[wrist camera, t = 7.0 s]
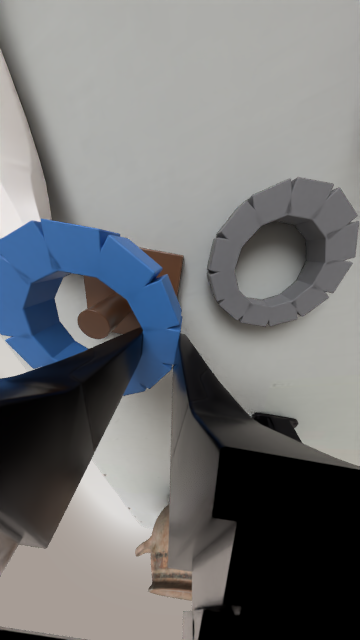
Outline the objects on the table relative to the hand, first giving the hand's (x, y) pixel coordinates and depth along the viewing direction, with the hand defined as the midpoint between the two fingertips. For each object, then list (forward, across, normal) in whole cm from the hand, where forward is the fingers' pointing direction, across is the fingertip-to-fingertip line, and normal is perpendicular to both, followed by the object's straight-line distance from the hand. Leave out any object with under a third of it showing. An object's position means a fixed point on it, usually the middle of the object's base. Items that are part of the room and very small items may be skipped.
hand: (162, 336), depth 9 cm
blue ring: (+1, +4, 0) cm, 4 cm away
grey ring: (+7, -8, -5) cm, 11 cm away
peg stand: (+7, +4, 0) cm, 8 cm away
